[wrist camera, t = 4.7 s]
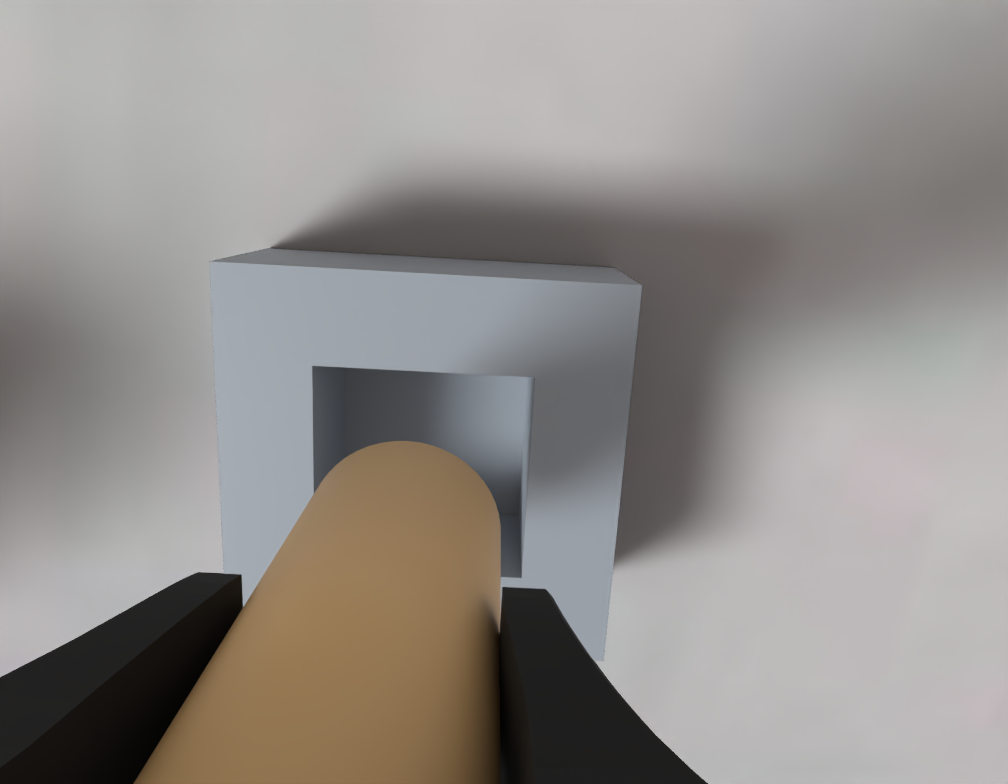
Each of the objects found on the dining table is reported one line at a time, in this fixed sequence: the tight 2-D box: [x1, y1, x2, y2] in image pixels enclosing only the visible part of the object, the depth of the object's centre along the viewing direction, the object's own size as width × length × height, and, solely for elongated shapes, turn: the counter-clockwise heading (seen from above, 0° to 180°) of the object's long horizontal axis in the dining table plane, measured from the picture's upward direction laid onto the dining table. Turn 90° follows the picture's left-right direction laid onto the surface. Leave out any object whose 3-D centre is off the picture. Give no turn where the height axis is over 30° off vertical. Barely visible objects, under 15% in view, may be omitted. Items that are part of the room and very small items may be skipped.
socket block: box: [209, 248, 642, 661], centre depth 18 cm, size 9×9×4 cm
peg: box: [133, 441, 501, 784], centre depth 9 cm, size 4×4×10 cm
